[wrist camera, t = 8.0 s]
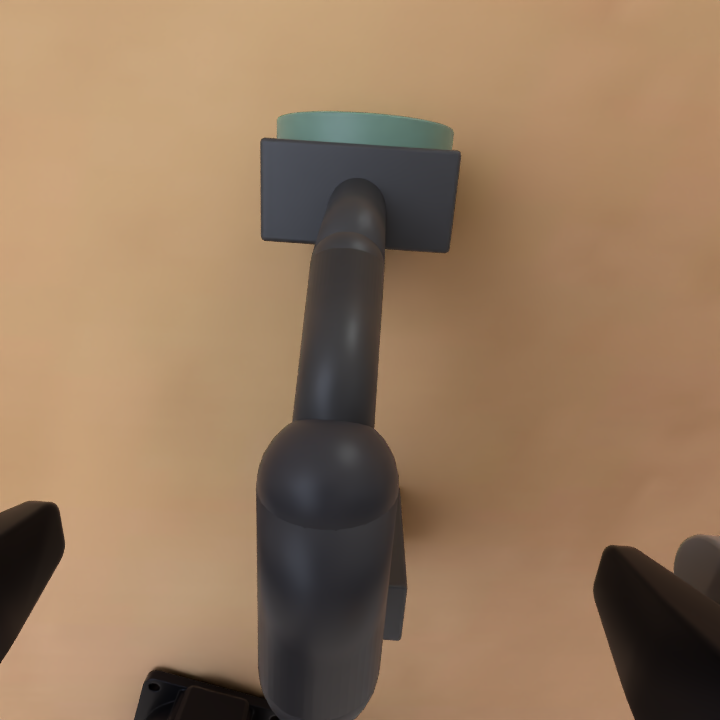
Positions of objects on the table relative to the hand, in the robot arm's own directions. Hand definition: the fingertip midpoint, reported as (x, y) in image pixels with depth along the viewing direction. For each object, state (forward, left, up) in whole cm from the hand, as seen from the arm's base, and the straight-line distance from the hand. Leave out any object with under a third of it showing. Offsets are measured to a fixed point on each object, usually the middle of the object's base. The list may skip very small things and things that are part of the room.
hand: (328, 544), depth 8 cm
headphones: (0, 0, -9) cm, 9 cm away
